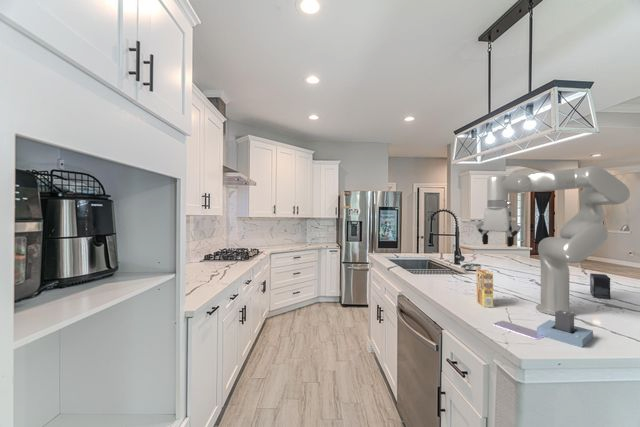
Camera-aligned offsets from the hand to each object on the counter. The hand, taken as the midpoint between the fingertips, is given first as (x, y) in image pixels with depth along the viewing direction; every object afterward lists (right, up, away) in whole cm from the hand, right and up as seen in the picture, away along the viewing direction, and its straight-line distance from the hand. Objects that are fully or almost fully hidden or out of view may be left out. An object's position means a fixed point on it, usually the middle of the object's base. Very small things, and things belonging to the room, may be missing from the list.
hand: (497, 245), depth 123 cm
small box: (+66, -28, +23) cm, 75 cm away
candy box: (0, -29, +10) cm, 30 cm away
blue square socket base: (+8, -29, -24) cm, 38 cm away
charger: (+8, -29, -24) cm, 38 cm away
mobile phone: (-4, -29, -19) cm, 35 cm away
